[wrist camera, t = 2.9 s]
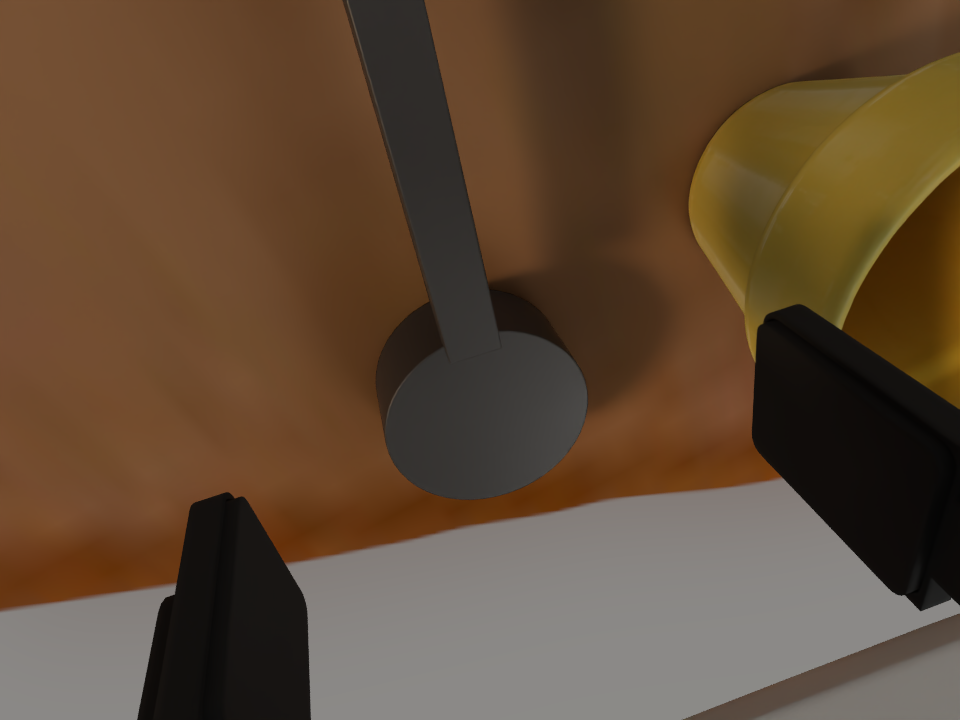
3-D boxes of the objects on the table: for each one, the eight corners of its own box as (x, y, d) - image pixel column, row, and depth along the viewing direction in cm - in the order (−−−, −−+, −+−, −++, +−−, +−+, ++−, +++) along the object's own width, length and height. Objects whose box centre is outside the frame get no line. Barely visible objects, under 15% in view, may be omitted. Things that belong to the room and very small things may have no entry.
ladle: (569, 415, 26) (610, 486, 23) (405, 469, 26) (421, 549, 22) (453, -296, 14) (502, -374, 11) (140, -226, 14) (87, -284, 10)
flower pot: (592, 295, 23) (745, 475, 15) (710, -26, 19) (1024, -8, 11) (812, 327, 27) (1031, 488, 19) (960, 62, 22) (1342, 126, 14)
